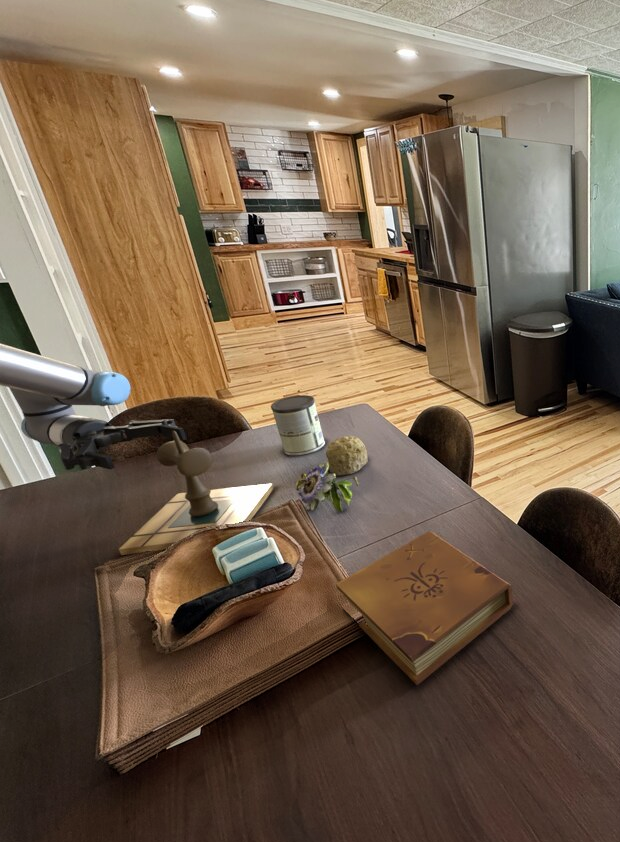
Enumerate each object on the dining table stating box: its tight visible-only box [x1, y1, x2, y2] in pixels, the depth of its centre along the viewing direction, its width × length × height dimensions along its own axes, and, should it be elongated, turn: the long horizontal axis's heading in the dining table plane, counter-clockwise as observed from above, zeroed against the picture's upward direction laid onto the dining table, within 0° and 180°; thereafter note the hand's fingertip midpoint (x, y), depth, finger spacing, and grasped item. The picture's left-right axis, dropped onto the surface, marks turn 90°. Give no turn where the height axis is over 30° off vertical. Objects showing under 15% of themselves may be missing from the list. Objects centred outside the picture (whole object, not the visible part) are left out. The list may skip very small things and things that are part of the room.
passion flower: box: [295, 461, 360, 512], centre depth 109 cm, size 11×11×12 cm
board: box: [118, 483, 275, 556], centre depth 104 cm, size 20×20×2 cm
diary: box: [335, 530, 514, 686], centre depth 81 cm, size 23×19×6 cm
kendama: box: [156, 431, 218, 517], centre depth 101 cm, size 6×10×20 cm, turn 64°
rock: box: [325, 435, 369, 476], centre depth 125 cm, size 10×11×10 cm
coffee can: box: [270, 394, 326, 456], centre depth 133 cm, size 10×10×14 cm
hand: (148, 447), depth 101 cm, fingers open, 13 cm apart
